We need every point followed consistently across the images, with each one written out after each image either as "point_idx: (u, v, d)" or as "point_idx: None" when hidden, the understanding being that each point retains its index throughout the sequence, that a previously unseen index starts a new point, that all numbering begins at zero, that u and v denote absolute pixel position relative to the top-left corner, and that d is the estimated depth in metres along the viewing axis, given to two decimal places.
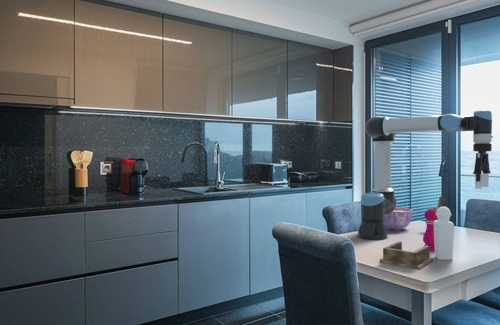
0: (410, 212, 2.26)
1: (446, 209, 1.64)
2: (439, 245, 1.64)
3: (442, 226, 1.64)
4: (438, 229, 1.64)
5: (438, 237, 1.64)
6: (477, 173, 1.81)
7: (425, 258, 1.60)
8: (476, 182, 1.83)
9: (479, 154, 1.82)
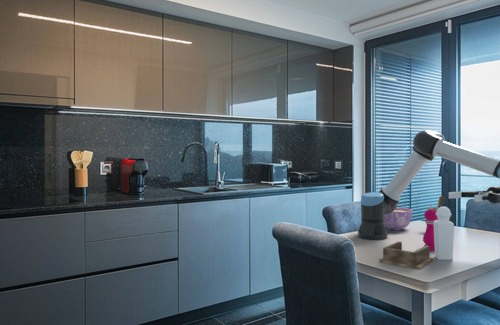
0: (410, 212, 2.26)
1: (446, 209, 1.64)
2: (439, 245, 1.64)
3: (442, 226, 1.64)
4: (438, 229, 1.64)
5: (438, 237, 1.64)
6: (493, 198, 1.63)
7: (425, 258, 1.60)
8: (481, 196, 1.63)
9: None
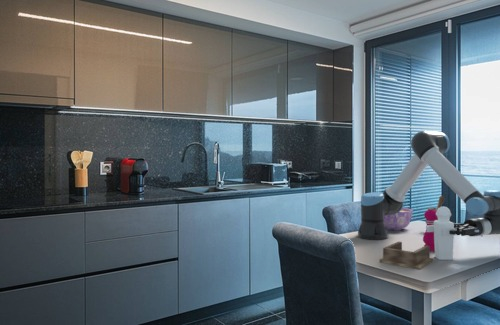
0: (410, 212, 2.26)
1: (446, 209, 1.64)
2: (439, 245, 1.64)
3: (442, 226, 1.64)
4: (438, 229, 1.64)
5: (438, 237, 1.64)
6: (460, 232, 1.61)
7: (425, 258, 1.60)
8: (448, 230, 1.62)
9: (478, 231, 1.64)
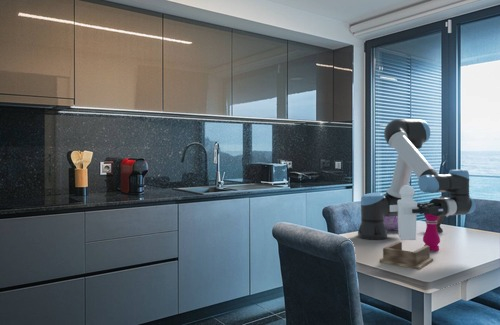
0: None
1: (409, 187, 1.59)
2: (402, 225, 1.58)
3: (405, 205, 1.58)
4: (401, 208, 1.58)
5: (401, 216, 1.58)
6: (423, 211, 1.55)
7: (425, 258, 1.60)
8: (410, 209, 1.56)
9: (441, 210, 1.58)
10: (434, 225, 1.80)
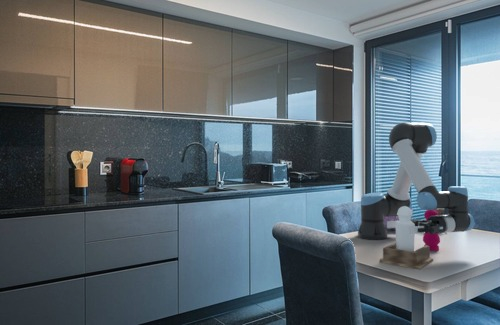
0: None
1: (407, 209, 1.59)
2: (400, 246, 1.59)
3: (403, 226, 1.58)
4: (399, 229, 1.59)
5: (399, 238, 1.59)
6: (429, 230, 1.53)
7: (425, 258, 1.60)
8: (416, 228, 1.54)
9: (442, 228, 1.58)
10: None
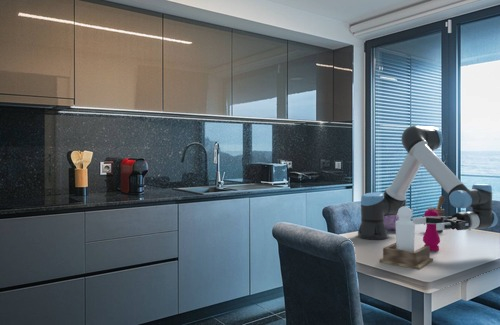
0: None
1: (407, 209, 1.59)
2: (400, 246, 1.59)
3: (403, 226, 1.58)
4: (399, 230, 1.59)
5: (399, 238, 1.59)
6: (455, 226, 1.57)
7: (425, 258, 1.60)
8: (443, 224, 1.58)
9: (467, 224, 1.62)
10: (434, 225, 1.80)
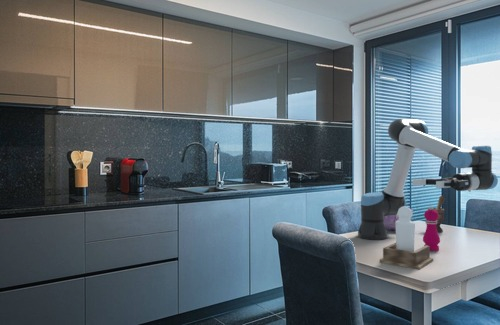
0: None
1: (407, 209, 1.59)
2: (400, 246, 1.59)
3: (403, 226, 1.58)
4: (399, 230, 1.59)
5: (399, 238, 1.59)
6: (455, 184, 1.57)
7: (425, 258, 1.60)
8: (443, 182, 1.58)
9: (467, 184, 1.62)
10: (434, 225, 1.80)
